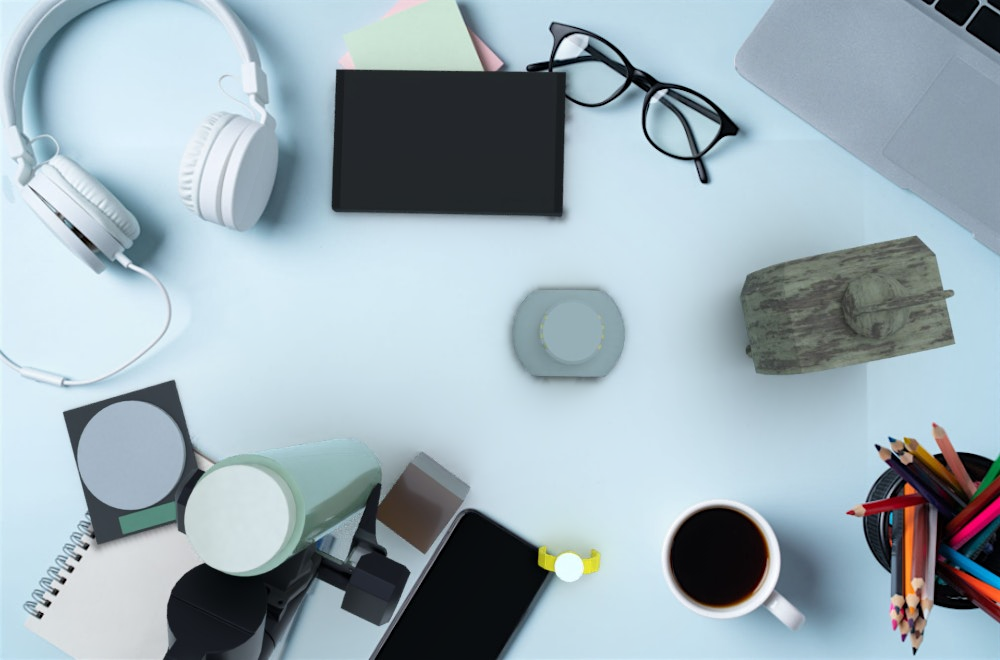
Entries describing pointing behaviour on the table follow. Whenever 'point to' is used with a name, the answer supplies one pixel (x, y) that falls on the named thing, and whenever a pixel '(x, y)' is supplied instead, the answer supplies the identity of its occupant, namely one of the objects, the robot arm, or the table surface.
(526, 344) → the air freshener
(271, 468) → the canister
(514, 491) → the table surface
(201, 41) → the table surface
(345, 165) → the external hard drive
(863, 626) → the table surface
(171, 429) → the scale
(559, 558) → the watch
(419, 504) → the block
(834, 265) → the toy tank
